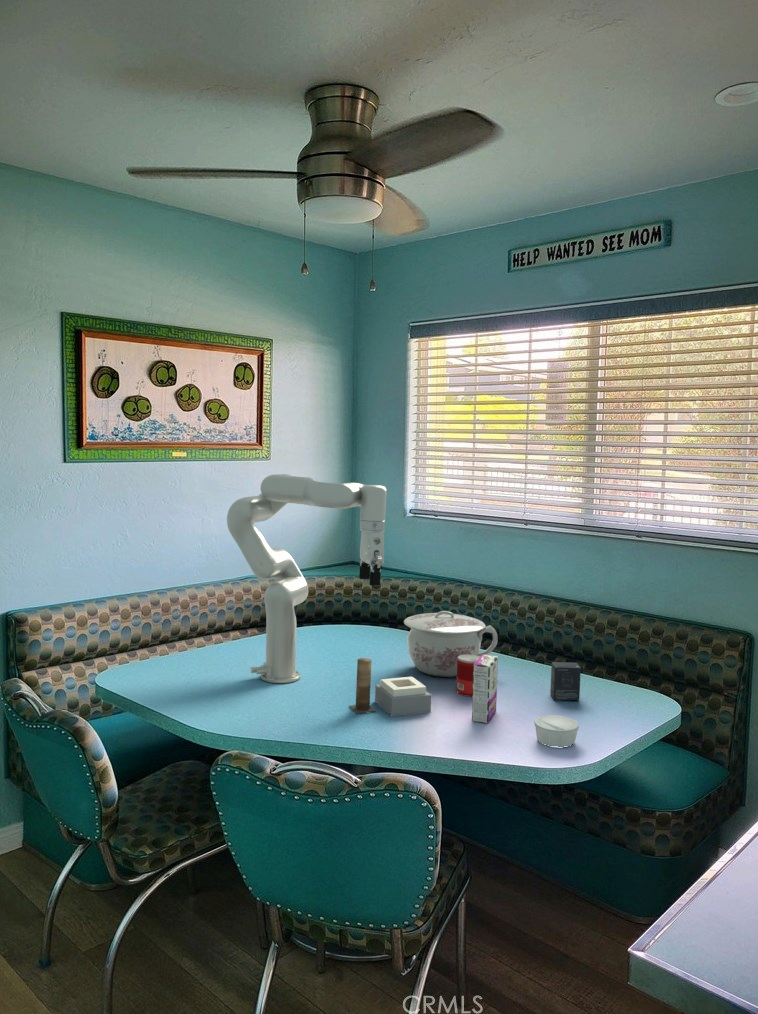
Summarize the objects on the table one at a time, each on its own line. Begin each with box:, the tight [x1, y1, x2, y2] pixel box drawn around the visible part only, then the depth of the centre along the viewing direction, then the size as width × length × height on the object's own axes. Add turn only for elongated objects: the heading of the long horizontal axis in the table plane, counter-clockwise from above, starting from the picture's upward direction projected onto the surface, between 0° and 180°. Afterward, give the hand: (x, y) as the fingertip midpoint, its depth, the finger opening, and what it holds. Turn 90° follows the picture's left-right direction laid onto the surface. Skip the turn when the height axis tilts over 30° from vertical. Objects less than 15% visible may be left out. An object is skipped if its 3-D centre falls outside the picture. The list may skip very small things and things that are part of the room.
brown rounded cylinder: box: [355, 657, 373, 710], centre depth 223 cm, size 4×4×14 cm
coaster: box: [348, 704, 377, 715], centre depth 223 cm, size 6×6×1 cm
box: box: [549, 661, 582, 701], centre depth 239 cm, size 8×6×11 cm
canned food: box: [455, 654, 480, 697], centre depth 241 cm, size 8×8×11 cm
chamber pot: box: [403, 610, 499, 678], centre depth 262 cm, size 28×28×21 cm
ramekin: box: [534, 714, 580, 747], centre depth 204 cm, size 11×11×5 cm
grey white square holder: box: [374, 676, 432, 717], centre depth 227 cm, size 12×13×7 cm
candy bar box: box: [471, 654, 499, 725], centre depth 220 cm, size 11×5×16 cm, turn 160°
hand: (369, 581), depth 237 cm, fingers open, 9 cm apart
